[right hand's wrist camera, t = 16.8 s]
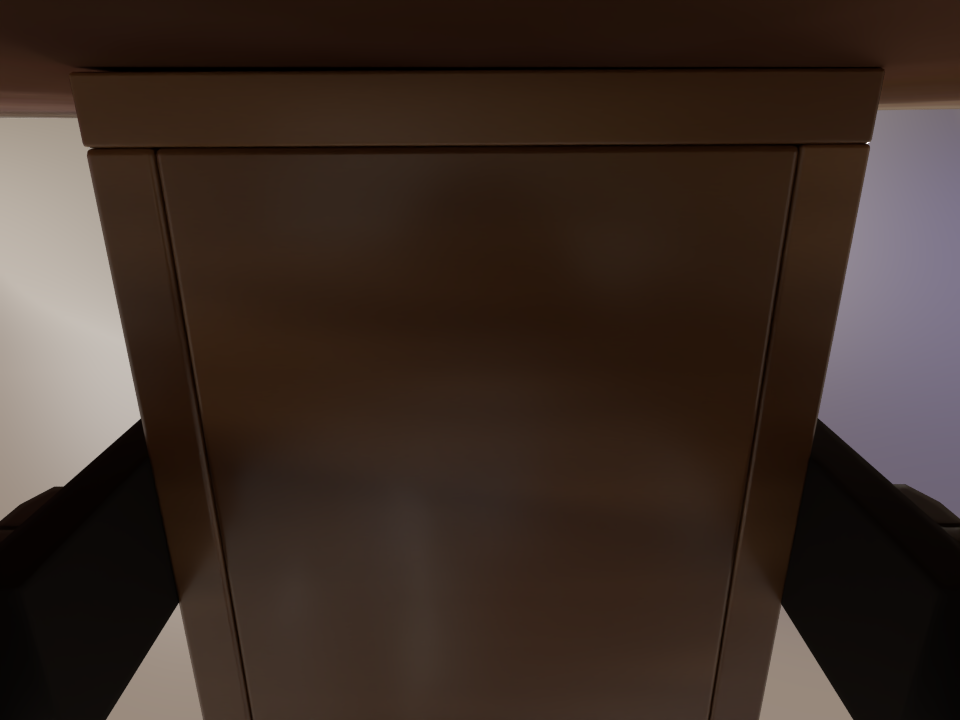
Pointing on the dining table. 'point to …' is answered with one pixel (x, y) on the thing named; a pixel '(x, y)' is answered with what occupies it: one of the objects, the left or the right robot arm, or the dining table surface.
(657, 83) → the chest
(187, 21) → the dining table surface
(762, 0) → the dining table surface
